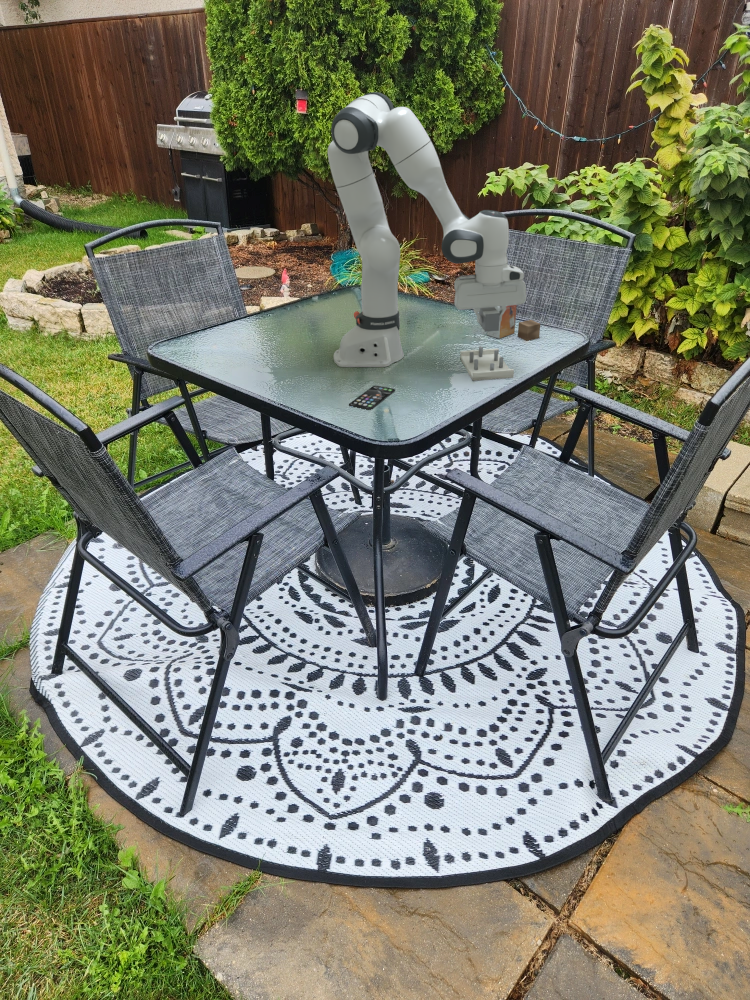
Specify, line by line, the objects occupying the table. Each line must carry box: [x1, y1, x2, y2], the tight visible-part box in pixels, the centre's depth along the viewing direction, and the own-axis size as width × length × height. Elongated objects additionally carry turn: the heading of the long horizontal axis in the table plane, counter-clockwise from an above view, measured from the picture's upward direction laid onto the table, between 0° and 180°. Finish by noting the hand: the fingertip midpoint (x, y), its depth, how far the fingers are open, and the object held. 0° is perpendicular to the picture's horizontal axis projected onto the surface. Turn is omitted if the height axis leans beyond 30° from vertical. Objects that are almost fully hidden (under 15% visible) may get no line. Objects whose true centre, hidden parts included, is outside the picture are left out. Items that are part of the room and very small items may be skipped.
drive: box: [478, 307, 500, 333], centre depth 194 cm, size 4×8×5 cm, turn 6°
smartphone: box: [348, 385, 396, 411], centre depth 187 cm, size 7×1×15 cm
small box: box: [486, 305, 518, 340], centre depth 223 cm, size 8×6×10 cm
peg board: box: [459, 345, 515, 382], centre depth 201 cm, size 12×18×4 cm, turn 6°
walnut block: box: [517, 319, 541, 342], centre depth 221 cm, size 5×5×5 cm
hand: (489, 321), depth 194 cm, fingers closed on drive, 4 cm apart
